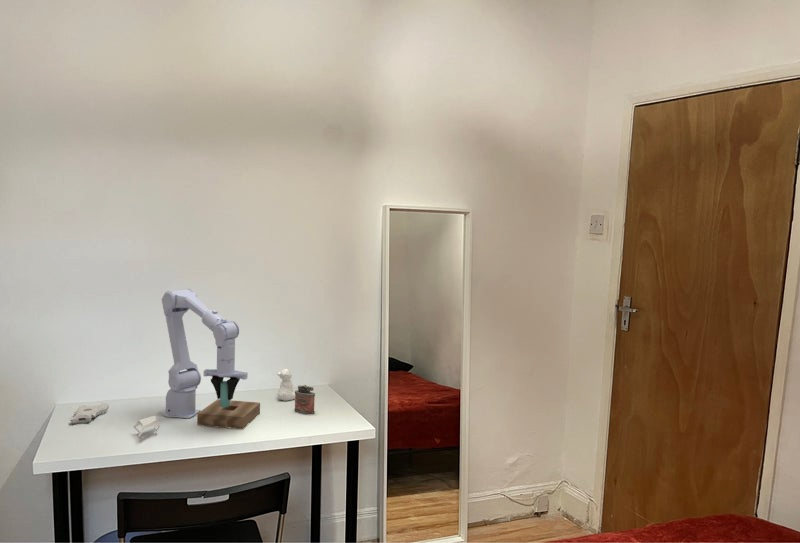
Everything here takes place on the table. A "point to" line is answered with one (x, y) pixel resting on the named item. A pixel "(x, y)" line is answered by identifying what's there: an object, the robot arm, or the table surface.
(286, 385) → the white creature statuette
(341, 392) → the table surface
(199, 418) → the socket block
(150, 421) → the origami figure
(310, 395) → the lighter
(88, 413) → the gun
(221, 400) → the peg
